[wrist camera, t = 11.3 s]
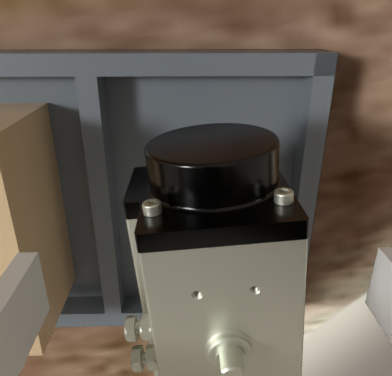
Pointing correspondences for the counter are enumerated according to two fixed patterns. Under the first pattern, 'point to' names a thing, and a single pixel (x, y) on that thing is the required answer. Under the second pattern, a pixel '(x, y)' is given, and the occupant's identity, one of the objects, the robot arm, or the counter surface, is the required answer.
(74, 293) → the bay tray
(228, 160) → the pneumatic valve
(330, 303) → the counter surface
